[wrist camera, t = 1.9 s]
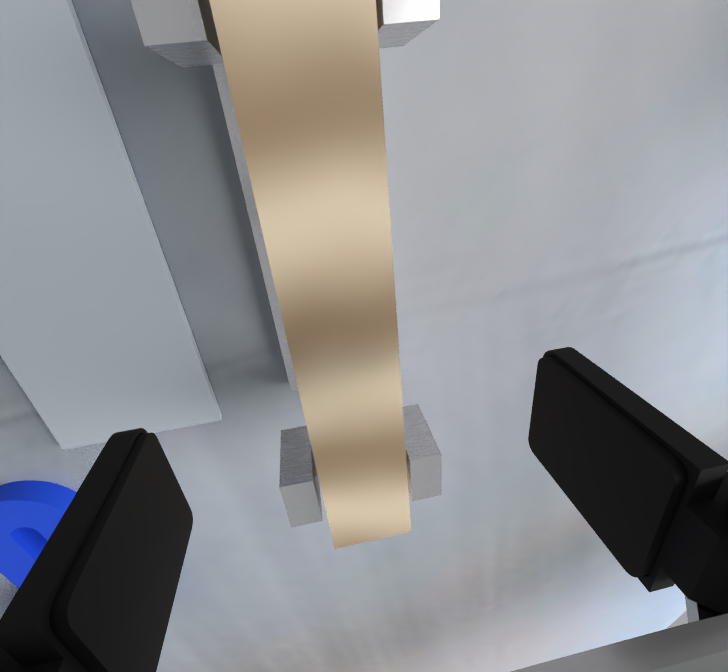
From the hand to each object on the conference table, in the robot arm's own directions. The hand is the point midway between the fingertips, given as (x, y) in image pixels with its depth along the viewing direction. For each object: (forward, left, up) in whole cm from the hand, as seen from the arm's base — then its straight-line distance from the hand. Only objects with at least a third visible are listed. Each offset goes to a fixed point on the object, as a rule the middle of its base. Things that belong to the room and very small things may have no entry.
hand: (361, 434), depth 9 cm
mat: (0, -16, -19) cm, 25 cm away
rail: (0, 0, -9) cm, 9 cm away
